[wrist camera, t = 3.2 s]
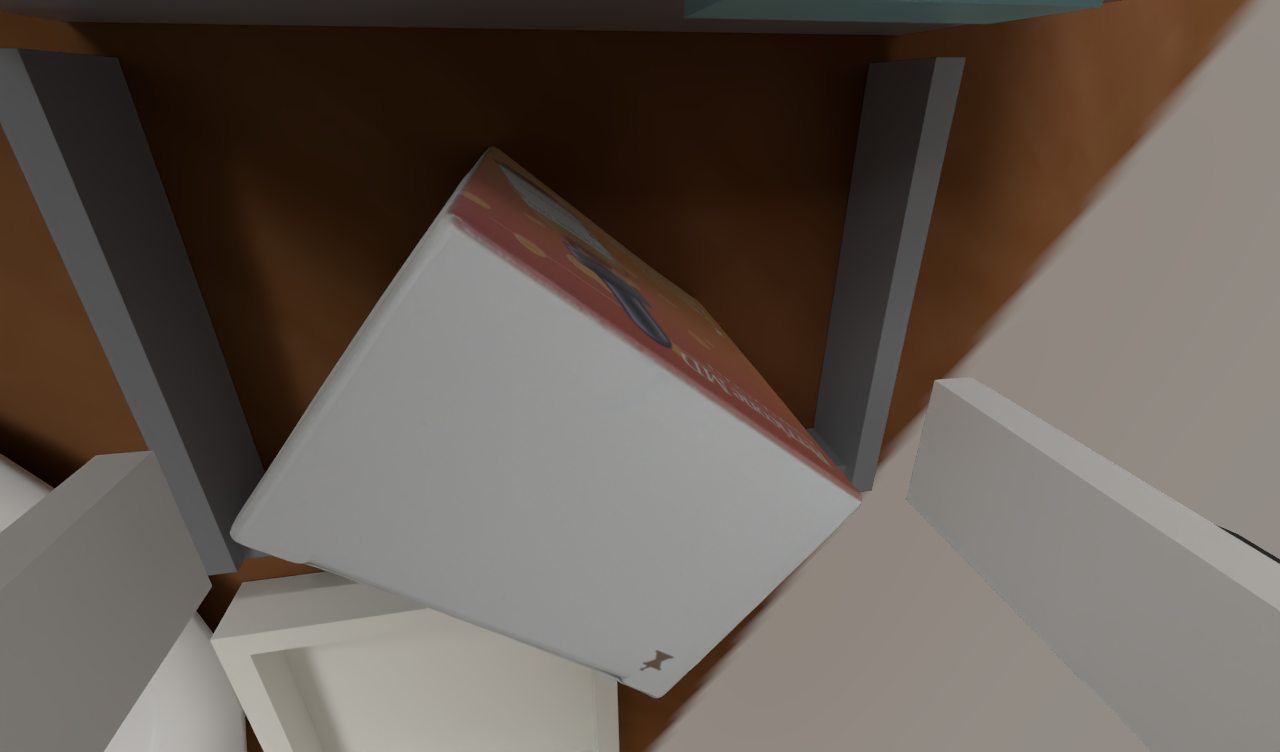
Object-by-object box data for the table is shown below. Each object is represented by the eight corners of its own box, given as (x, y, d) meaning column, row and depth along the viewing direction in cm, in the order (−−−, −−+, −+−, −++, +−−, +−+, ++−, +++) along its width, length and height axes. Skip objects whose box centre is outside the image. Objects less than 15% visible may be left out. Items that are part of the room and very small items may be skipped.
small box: (701, 302, 19) (881, 506, 9) (598, 425, 20) (666, 712, 11) (490, 136, 15) (445, 199, 6) (382, 297, 17) (212, 549, 7)
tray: (330, 792, 26) (313, 855, 24) (242, 582, 20) (209, 639, 18) (612, 738, 28) (620, 791, 26) (605, 534, 22) (614, 581, 20)
